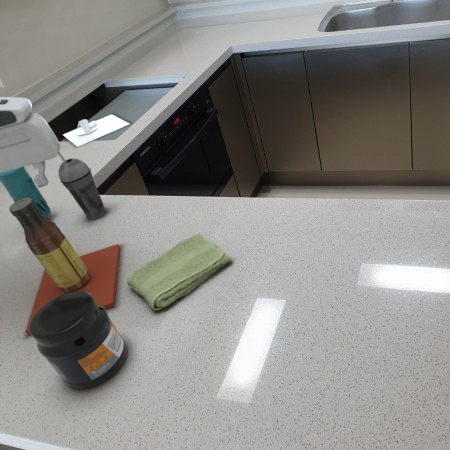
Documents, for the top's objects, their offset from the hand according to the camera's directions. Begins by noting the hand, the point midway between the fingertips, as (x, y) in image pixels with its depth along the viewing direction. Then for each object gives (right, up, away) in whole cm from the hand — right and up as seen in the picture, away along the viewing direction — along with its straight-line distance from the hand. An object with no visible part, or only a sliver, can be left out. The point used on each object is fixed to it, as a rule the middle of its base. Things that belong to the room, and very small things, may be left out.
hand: (16, 192), depth 80 cm
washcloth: (+26, -15, +10) cm, 32 cm away
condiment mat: (+5, -18, +13) cm, 23 cm away
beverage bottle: (-18, -5, +40) cm, 44 cm away
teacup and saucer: (-27, +30, +91) cm, 100 cm away
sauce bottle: (+4, -17, +13) cm, 22 cm away
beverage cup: (-2, -3, +37) cm, 37 cm away
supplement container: (+16, -28, -5) cm, 33 cm away
